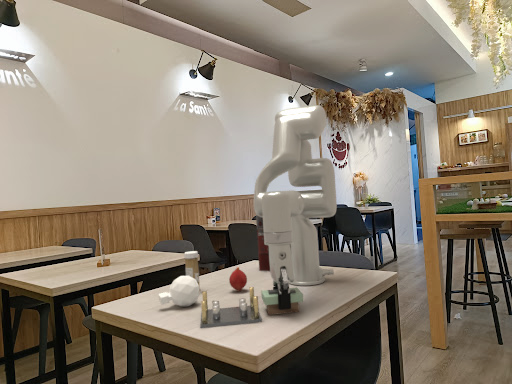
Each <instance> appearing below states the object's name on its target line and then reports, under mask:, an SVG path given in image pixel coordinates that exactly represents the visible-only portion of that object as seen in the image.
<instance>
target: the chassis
mask: <svg viewBox="0 0 512 384" xmlns="http://www.w3.org/2000/svg"><path fill="white" fill-rule="evenodd" d="M201 296H202V301H200V303H201V304H200V305H201V314H200V323H199V324H200V325H199V326H200V329H202V328H203V329H204V328H215V327H222V326H223V327H225V326H235V325H246V324H255V323H262V322H263V319H262V316H261V314H260V311H259V310H260V308H259V296H257V295H256V296H255V288H254V287H253V286H251V287H249V304H250V305H248V303H247V301H246V298H243V297H242V298H238V306H231V307H221V308H220V301H219V300H213V301H212V308H210V309H209V306H208V292H207V290H206V291H205V290H204V291H202V295H201Z"/></svg>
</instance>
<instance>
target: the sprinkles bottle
mask: <svg viewBox="0 0 512 384" xmlns="http://www.w3.org/2000/svg"><path fill="white" fill-rule="evenodd" d="M183 257H184V262H185V276H190V277H192V278H194V279H196V281H197V283H198V285H199V290H200V291H201V288H200V285H201V284H200V273H199V272H200V271H199V259H198V258H199V252H198V251H197V250H192V251H191V250H190V251H185V252H184V255H183Z"/></svg>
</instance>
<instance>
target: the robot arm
mask: <svg viewBox="0 0 512 384" xmlns="http://www.w3.org/2000/svg"><path fill="white" fill-rule="evenodd" d="M326 124H327V114H326V110H325V109H324V107H323V106H322V105H319V104H318V105H317V104H315V105H309V106H308V105H307V106H300V107H292V108H286V109H282V110H279V111H278V112H277V113H276V114H275V115H274V129H273V140H272V141H273V143H272V152H271V153H272V154H271V155H272V156H271V159H270V161H268V162H267V163H266V164H265V166H264V167H263V168H262V169H261V171H260V172H259V174H258V176H257V178H256V180H255V182H254V183H255V184H254V191H253V192H254V193H253V211H254V213H255V214H256V215H258V216H259V217H262V218H263V229H264V244H265V245H269V263H270V271H269V273H270V277H271V278H272V285H273V287H272V290H274V289H278V291H279V294H278V307H279V310H284V309H291V296H290V288H291V287H290V284H291V285H295V286H302V287H303V286H305V287H306V286H315V285H319V284H323V283H324V282H325V281H326V280H325V279H326V278H325V276H331V275H335V274H334V269H333V268H322V267H320V255H319V253H320V252H319V240H318V239H319V238H318V230H317V228H316V226H315V225H314V223H313V222H312V220H310V219H322V218H331V217H334V216H335V215H336V213H337V208H338V207H337V206H338V205H337V204H338V203H337V188H336V175H335V174H336V173H335V167H334V164H333V161H332V160H330V159H329V158H326V157H320V158H319V157H317V158H313V157H312V156H313V155H312V154H313V153H312V145H311V143H310V142H309V140H316V139H318V138H320V137H321V135H322V134H323V132H324V130H325V128H326ZM286 173H287V174H288V175H287V176H288V181H289V184H290V185H291V186H292V187H295V188H305V187H307V188H308V187H310V188H311V187H320V188H321V189H315V190H311V189H309V190H307V189H306V190H273V191H267V190H268V187H269V186H270V184H271V183H272V182H273V181H274V180H275V179H277V178H278V177H279V176H282V175H284V174H286Z"/></svg>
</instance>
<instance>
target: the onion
mask: <svg viewBox="0 0 512 384" xmlns="http://www.w3.org/2000/svg"><path fill="white" fill-rule="evenodd" d="M247 283H248V278H247V275H246V273H245V272H243V270H241V269H240V267H239V266H237V267H236V268H235V269H234V270H233V271H232V272H231V274H230V276H229V285H230V286H231V288H233V289H234V290H235V291H237V292H242V290H243V289H244V287H245V286H246V285H247Z"/></svg>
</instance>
